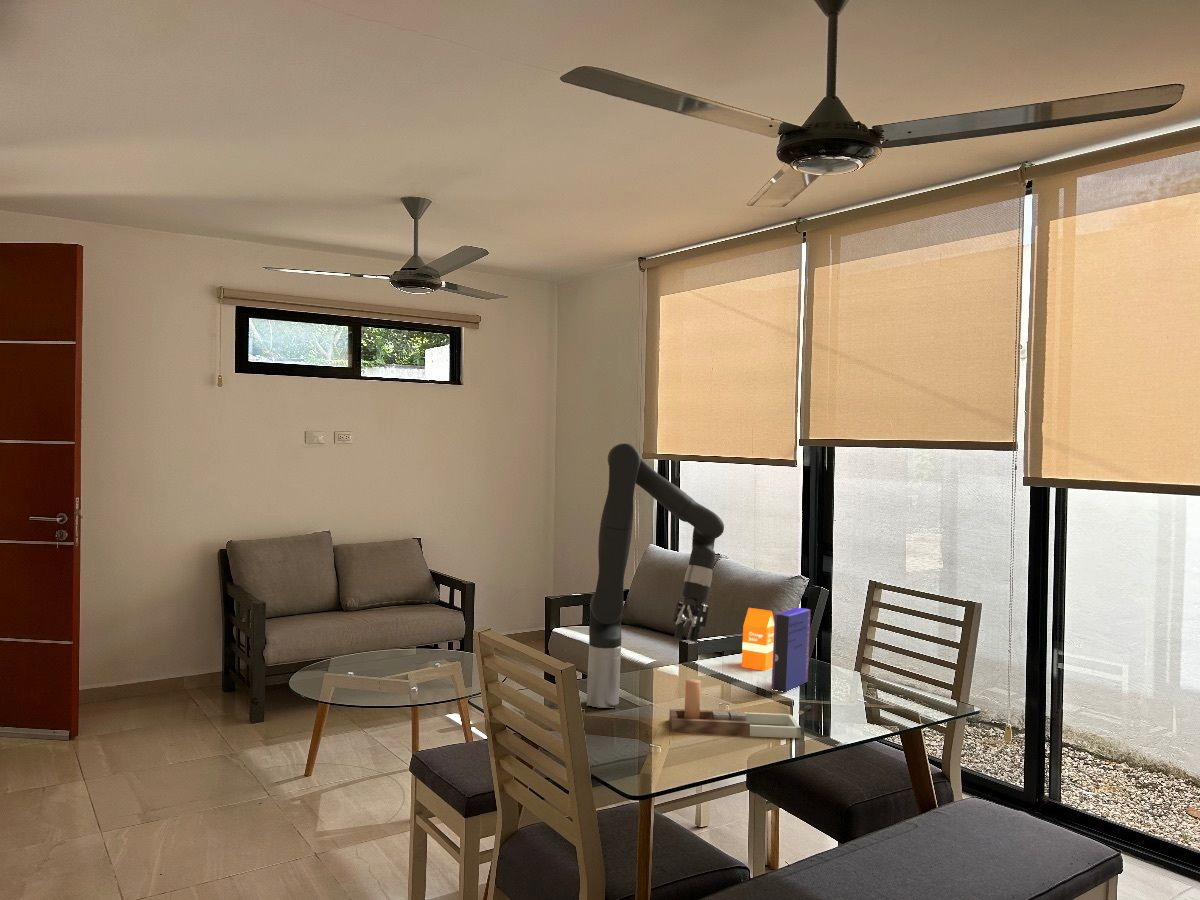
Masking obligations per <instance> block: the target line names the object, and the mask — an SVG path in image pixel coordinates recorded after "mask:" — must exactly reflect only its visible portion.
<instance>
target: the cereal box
mask: <svg viewBox="0 0 1200 900" xmlns="http://www.w3.org/2000/svg"><path fill="white" fill-rule="evenodd" d="M773 619H774V641H773V665H772V668H771V669H772V670H771V672H772V673H771V690H772V689H773V690H778V691H783V692H787V691H789V690H791V689H793V688H795V689H797V688H799V687H801V686H800V685H802V684H804V683H806V682H808V679H809V658H810V657H809V656H810V637H811V636H810V635H811V634H810V632H811V628H810V627H811V609H809V608H805V607H804V608H803V607H794V608H791V609H789V610H785V611H782V612H781V611H780V612H778V613H775V614H774V616H773ZM806 684H807V683H806ZM804 685H805V684H804ZM798 686H799V687H798ZM802 686H803V685H802ZM796 687H797V688H796ZM773 690H772V691H773ZM793 690H794V689H793ZM778 691H777V692H778ZM791 691H792V690H791ZM789 692H790V691H789ZM787 693H788V692H787Z"/></svg>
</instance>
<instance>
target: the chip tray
mask: <svg viewBox="0 0 1200 900" xmlns="http://www.w3.org/2000/svg"><path fill="white" fill-rule="evenodd" d="M744 713H745V714H746V721H749V722H750V733H749V735H750V736H749V737H760V738H761V737H763V738H769V737H770V738H782V739H783V738H785V739H786V738H787V739H801V737H802V736H801V732H802V727H801V726H800V725H799V723H798V722H797V720H796V719H795V718H794V717H793V716H794V715H792V713H771V712H769V713H768V712H767V713H766V712H746V711H744Z"/></svg>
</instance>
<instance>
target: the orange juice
mask: <svg viewBox="0 0 1200 900" xmlns="http://www.w3.org/2000/svg"><path fill="white" fill-rule="evenodd" d="M744 619H745V620H744V623H743V626H742V627H743V628H742V648H741V649H742V653H741V667H742V668H748V669H752V670H753V669H754V670H759V671H763V672H766V671H767V670H770V669H772V665H773V641H774V614H773V611H772V610H769V609H768V610H766V609H761V608H754V607H753V608H752V607H748V609H747V612H746V616H745V618H744Z"/></svg>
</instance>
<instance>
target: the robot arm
mask: <svg viewBox="0 0 1200 900" xmlns="http://www.w3.org/2000/svg"><path fill="white" fill-rule="evenodd" d="M607 464H608V468H609V469H608V488H607V489H608V490H607V496H606V499H605V502H604V506H603V510H602V514H601V517H600V518H601V519H600V524H599V525H600V526H599V531H598V532H599V533H598V534H599V535H598V544H597V545H598V547H597V549H598V550H597V553H598V556H597V557H598V577H597V582H596V587H595V592H594V593H593V594H592V595H591V597H590V602H589V622H588V623H589V627H588V629H589V630H588V639H589V640H588V644H589V645H588V663H587V665H588V666H587V682H586V684H587V685H586V687H587V688H586V705H587V704H592V705H596V706H600V707H615V708H616V706H617V705H619V703H620V687H621V686H620V683H621V680H620V679H621V678H620V677H621V660H622V659H621V657H622V656H621V654H622V615H623V612H624V582H625V581H624V580H625V573H626V569H627V564H628V559H629V553H630V549H631V548H630V547H631V543H632V534H633V524H634V495H635V487H636V485H637V486H638V487H640V488H641V489H643V490H644V491H645V492H647V493H648V494H649V495H650V496H651V497H652V498H653V499H654V500H655V501H656V502H657V503H659V504H660V505H661V506H662V507H663V508H665V509H666V510H667V511H668V512H670V514H672V515H673V516H674V517H676V518H677V519H679V521H682V522H684V523H688V524H689V525H691V526H692V527H693V531H692V542H691V544H692V545H691V553H690V556H689V562H688V565H687V569H686V572H685V576H684V579H683V580H684V581H683V586H682V588H681V593H680V596H681V598H683V599H684V600H683V602H681V601H677V602H676V607H675V611H674V616H673V618H672V619H673V620H672V621H673V622H674V623H675V625H676V627H675V632H674V639H676V640H683V637H684V636H683V635H684V631H685V626H686V624H687V622H690V621H691V626H692V627H691V628H690V629H691V630H690V635H689V641H690V642H693V643H698V639H699V635H700V630H701V629H702V628H705V627H706V625H707V621H708V620H707V619H708V614H709V609H710V606H709V605H707V604H704V603H708V600H709V599H708V598H709V594H710V589H711V585H712V579H713V570H714V566H715V561H716V552H715V550H714V549H715V548H714V547H715V542H716V541H715V540H716V539H717V538H720V536H722V535H723V533H724V529H725V524H724V521H723V520H722V519H721V517H720V515H718V514H716V513H715V512H714V511H712V510H710V509H709V508H707V507H705V506H704V505H702V504H701V503H698V502H697V501H696V500H695V499H693V498H692V497H691V496H690V495H689V494H687V493H686V491H685V492H684V491H683V490H682V489H681V488H680V487H678V486H677V485H676V484H674V483H673V482H671V481H670V480H668V479H666V478H665V477H664V476H662V475H661V474H659V472H657V471H655V470H654V469H653V468H652V467H651V466H650V465H649V464H648V463H647V462H646V461H645V460H644V459H643V458H642V456H641V454H640V452H639V450H638V449H637V448H636V447H635V446H634V445H632V444H630V443H618V444H617V445H615V446H613V447H612V448H611V449H610V450H609V452H608V454H607Z"/></svg>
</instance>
